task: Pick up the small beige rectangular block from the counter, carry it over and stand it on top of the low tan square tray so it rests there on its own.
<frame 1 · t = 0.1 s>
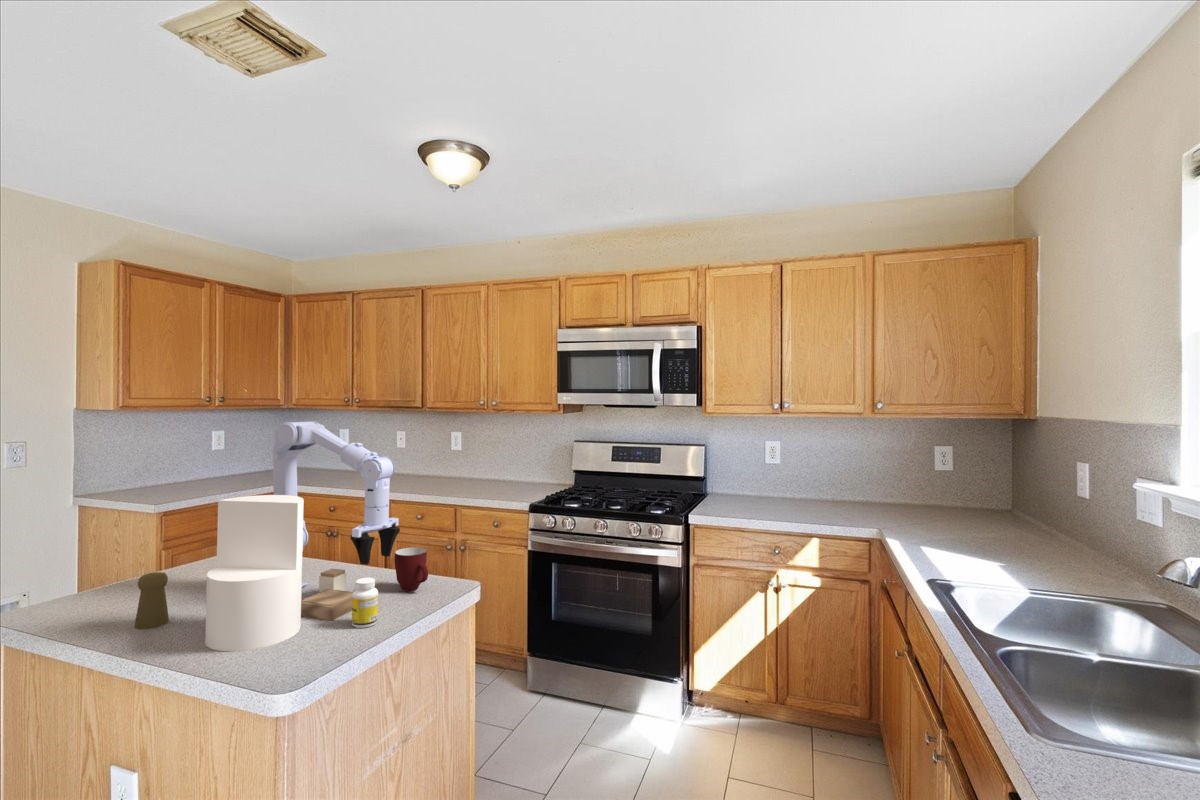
hand: (375, 559, 141), 10 cm above the counter, fingers open, 7 cm apart
mug: (413, 590, 150), on the counter
tan square tray: (329, 610, 134), on the counter
cream chair shape: (254, 634, 120), on the counter
supplement bottle: (364, 624, 127), on the counter
cork: (151, 624, 124), on the counter
beige rectangular block: (332, 594, 145), on the counter
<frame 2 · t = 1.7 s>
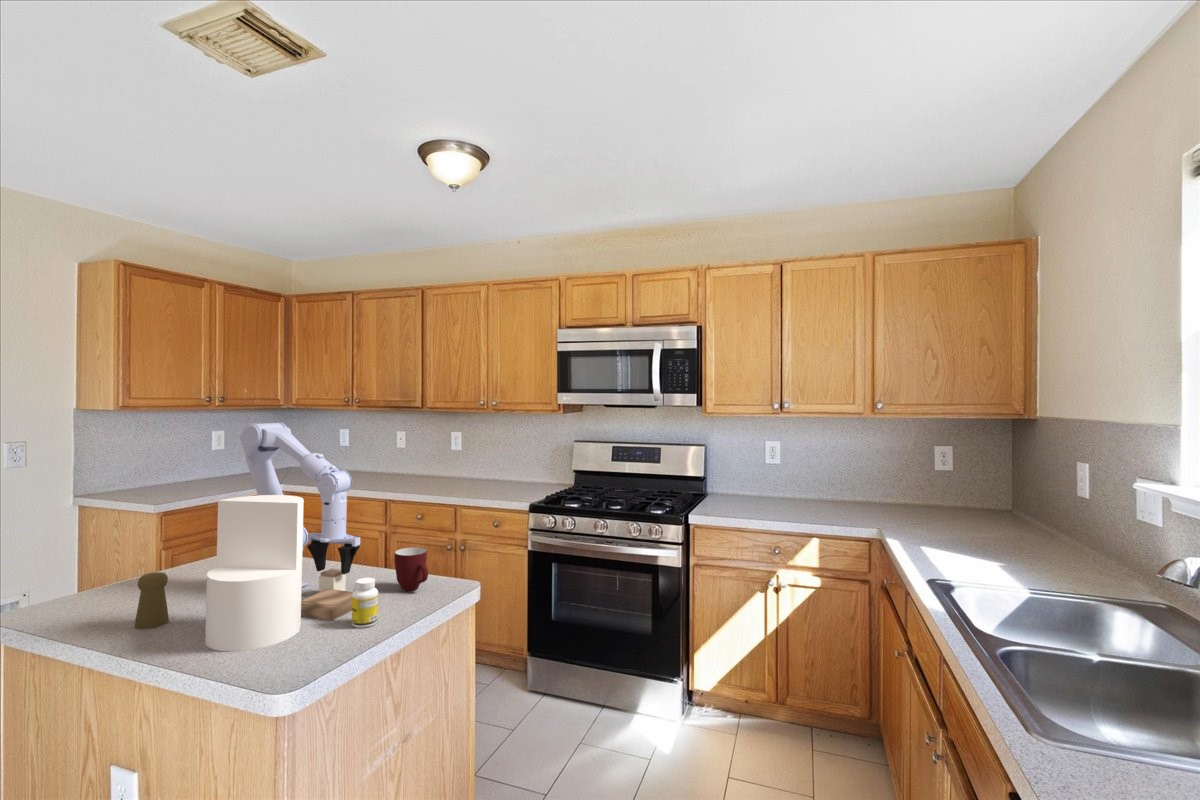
hand: (333, 571, 145), 6 cm above the counter, fingers open, 7 cm apart
nothing on the counter moved.
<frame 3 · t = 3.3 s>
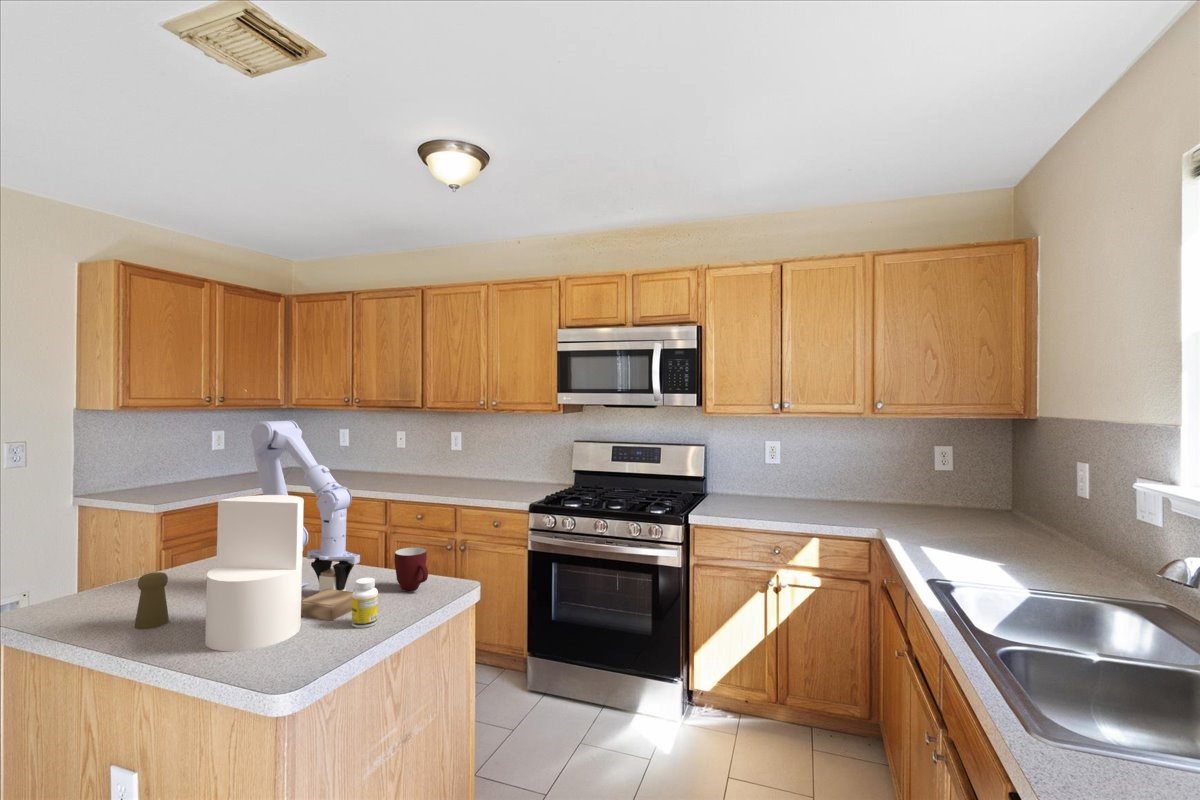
hand: (332, 589, 145), 1 cm above the counter, fingers closed on beige rectangular block, 4 cm apart
beige rectangular block: (332, 594, 145), on the counter, touching gripper
everything else where it was.
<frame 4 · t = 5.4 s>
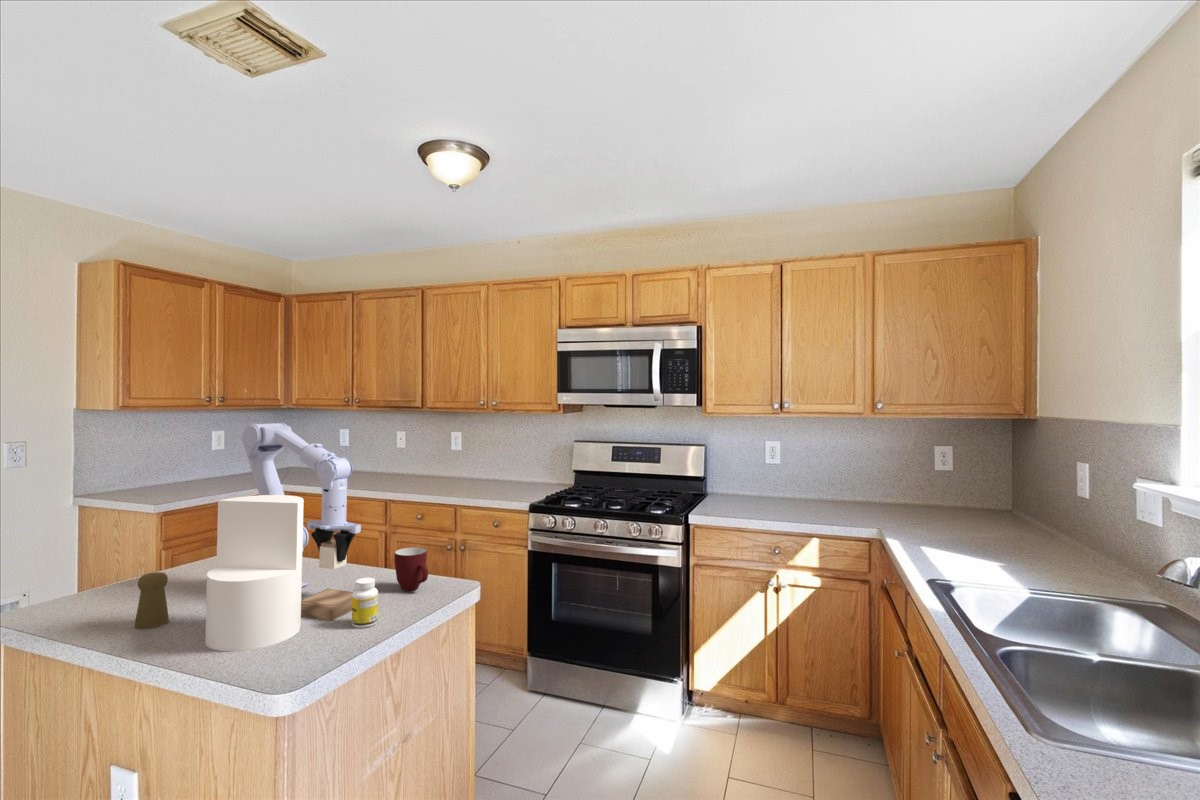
hand: (333, 559, 143), 9 cm above the counter, fingers closed on beige rectangular block, 4 cm apart
beige rectangular block: (333, 565, 143), point 8 cm above the counter, touching gripper
everything else where it was.
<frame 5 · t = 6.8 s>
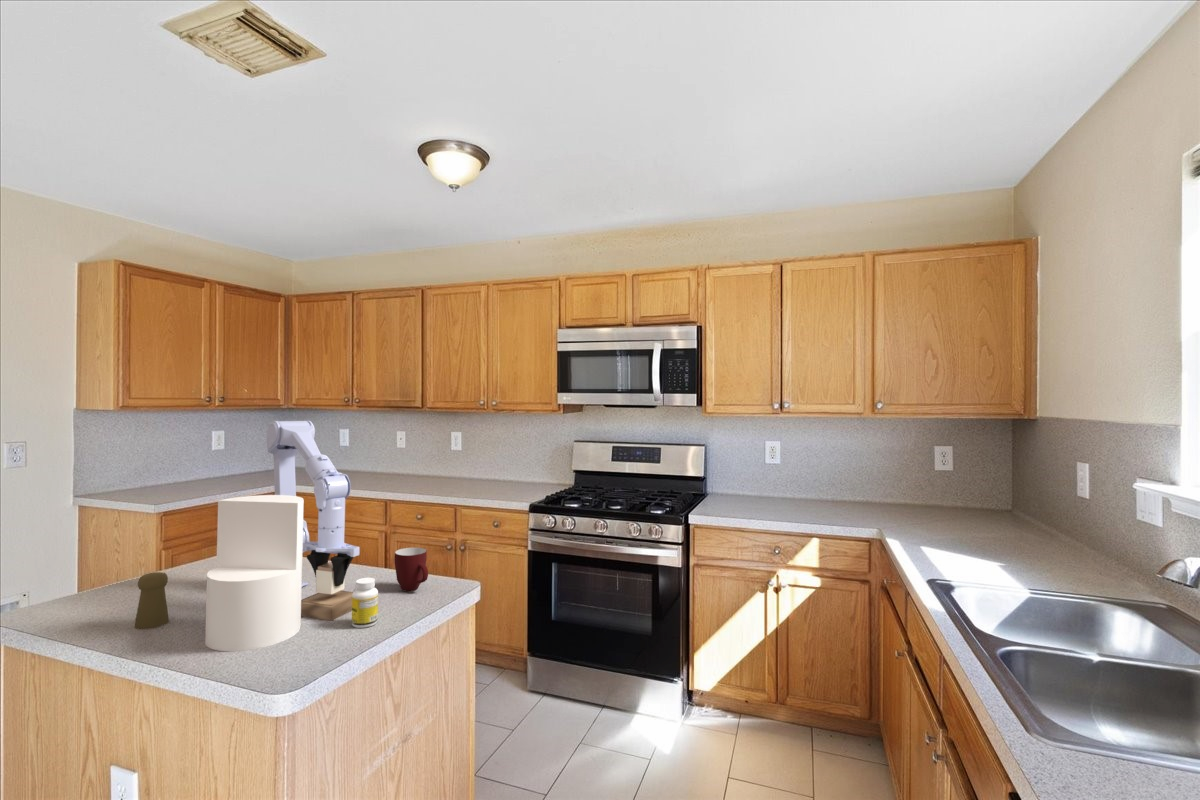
hand: (330, 583, 134), 6 cm above the counter, fingers closed on beige rectangular block, 4 cm apart
beige rectangular block: (330, 590, 134), point 5 cm above the counter, touching gripper
everything else where it was.
when the fingers open (6 cm above the counter, at t = 7.8 s): beige rectangular block stays where it is, resting on tan square tray.
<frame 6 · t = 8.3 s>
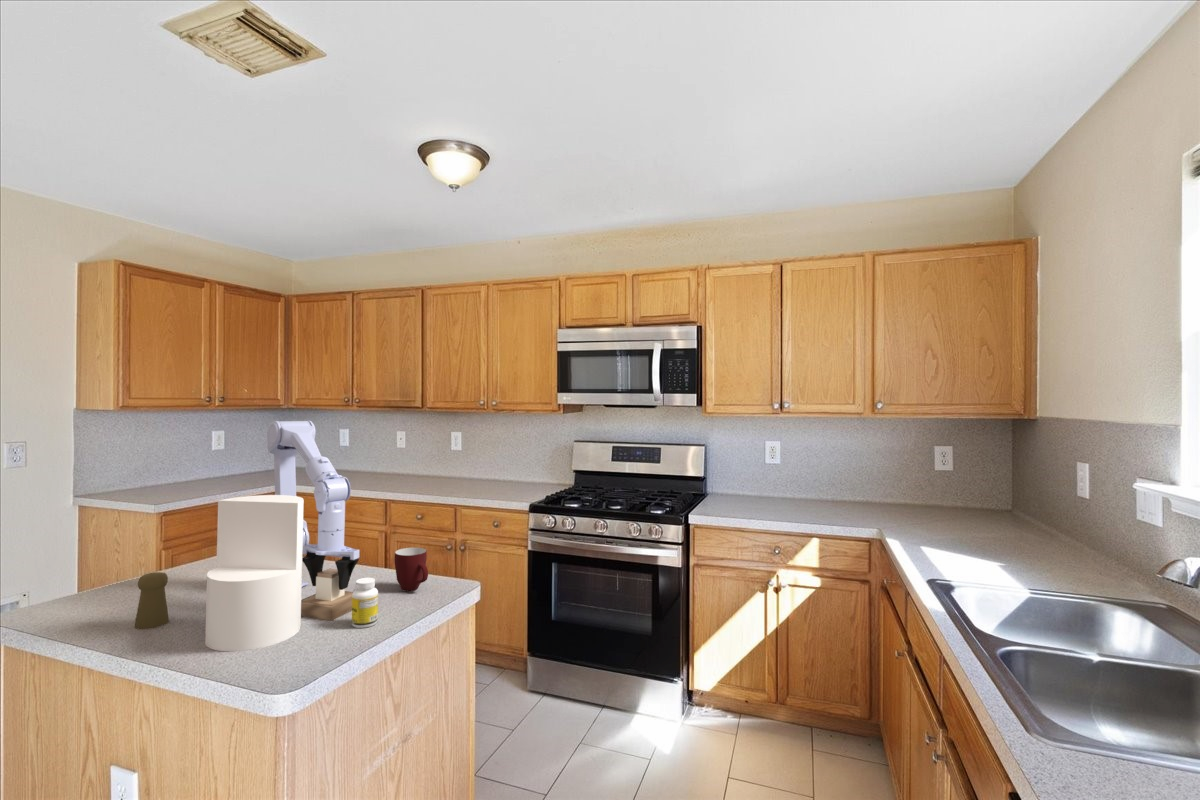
hand: (329, 586, 134), 6 cm above the counter, fingers open, 7 cm apart
beige rectangular block: (330, 596, 134), point 3 cm above the counter, touching tan square tray
everything else where it was.
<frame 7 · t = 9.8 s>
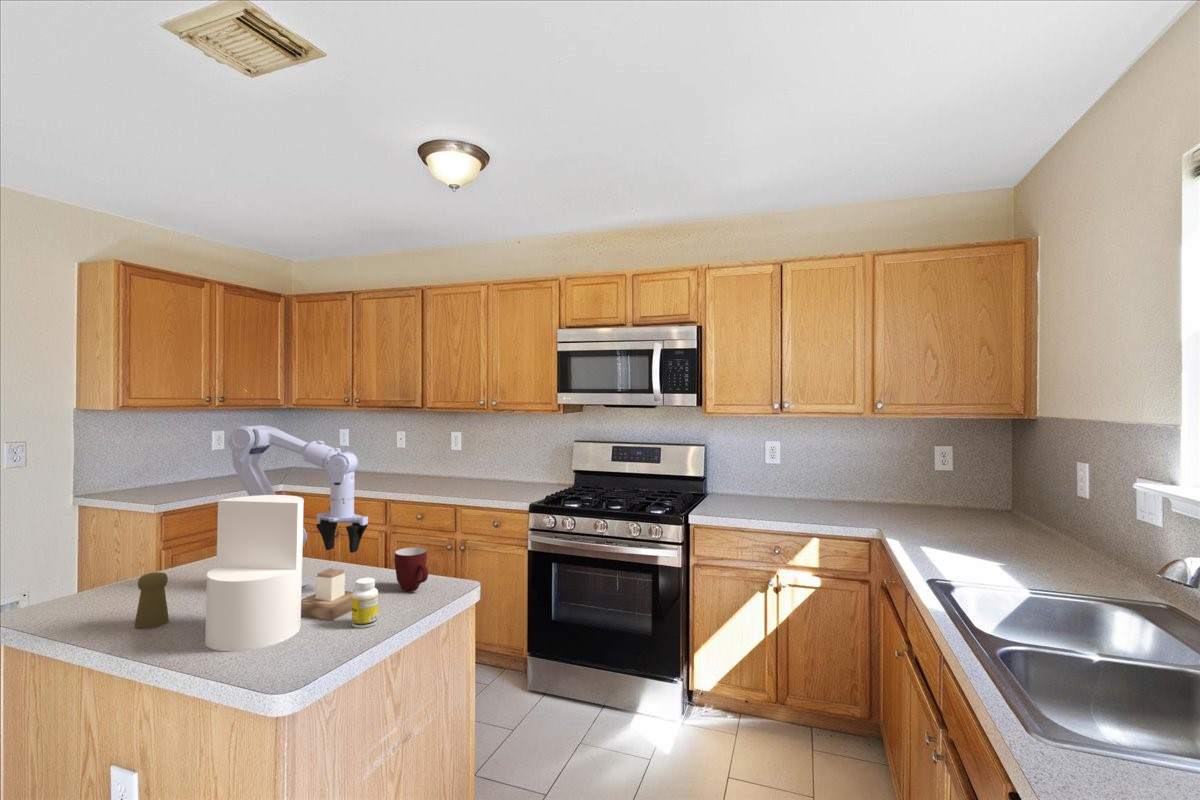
hand: (341, 550, 148), 10 cm above the counter, fingers open, 7 cm apart
nothing on the counter moved.
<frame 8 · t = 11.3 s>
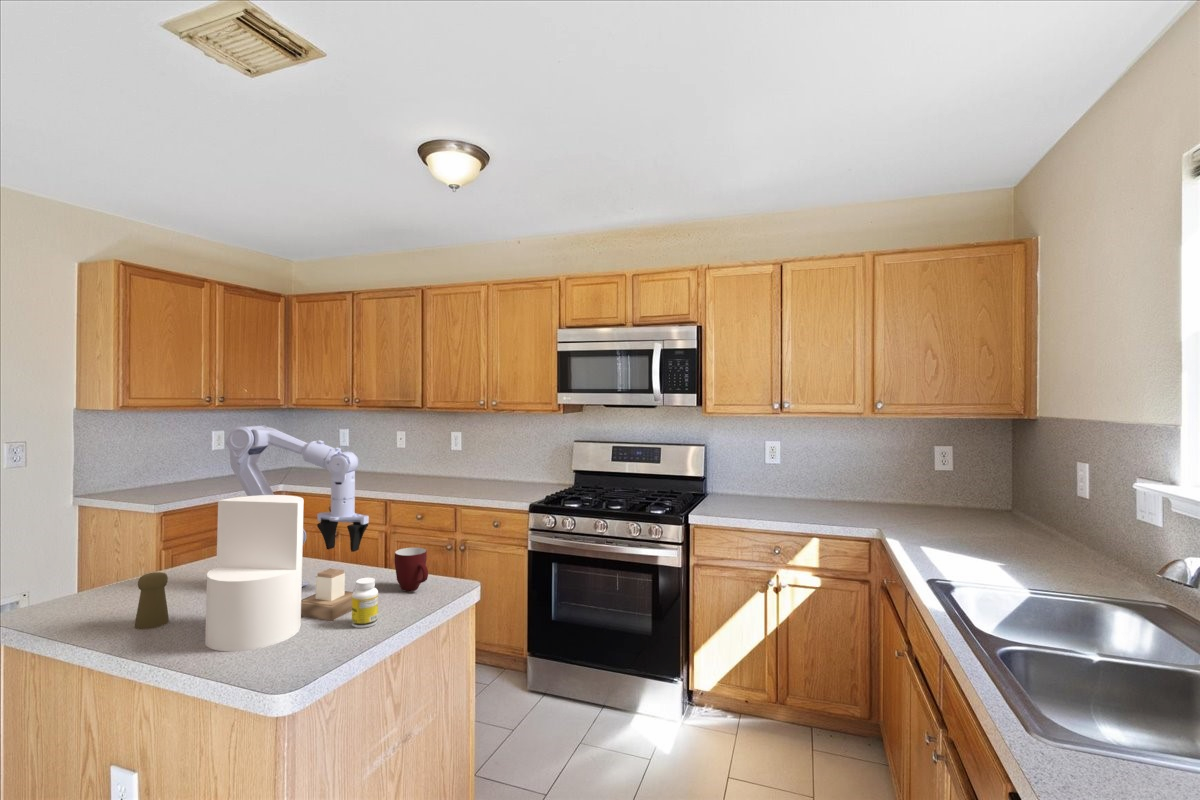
hand: (342, 549, 149), 10 cm above the counter, fingers open, 7 cm apart
nothing on the counter moved.
at the end: beige rectangular block inside the target area on the tan square tray (0.1 cm from its centre), point 3.1 cm above the tan square tray's base; beige rectangular block tilted 0°; beige rectangular block touching tan square tray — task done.
